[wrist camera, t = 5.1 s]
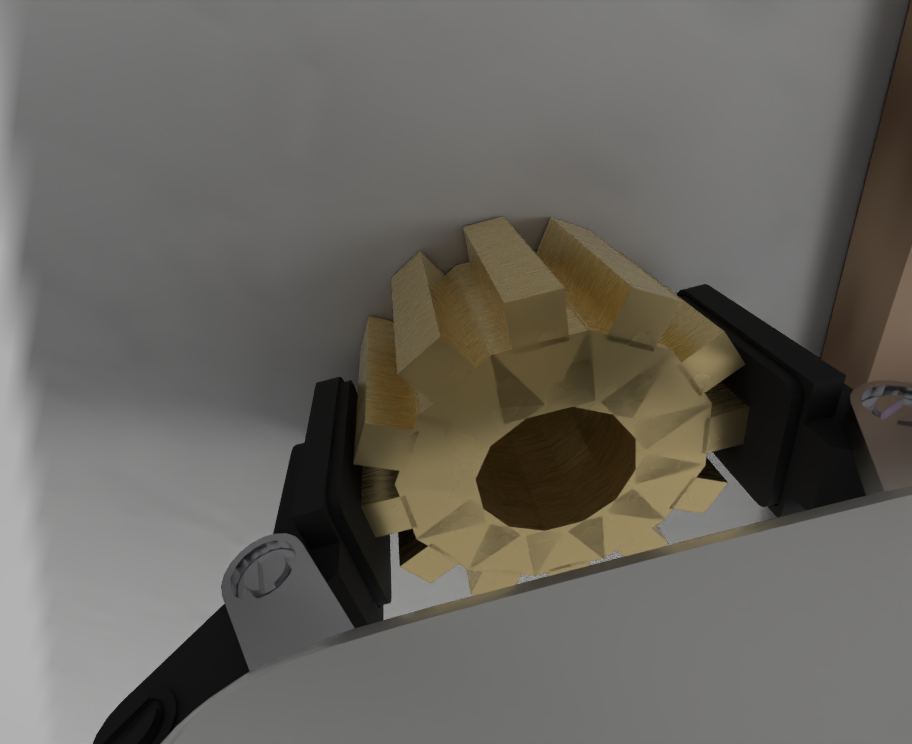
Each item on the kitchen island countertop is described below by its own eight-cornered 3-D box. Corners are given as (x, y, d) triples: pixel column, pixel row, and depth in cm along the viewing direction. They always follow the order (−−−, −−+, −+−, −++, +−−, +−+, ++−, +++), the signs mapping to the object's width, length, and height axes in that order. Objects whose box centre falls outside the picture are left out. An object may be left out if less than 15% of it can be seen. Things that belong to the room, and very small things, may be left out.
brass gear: (650, 178, 10) (783, 231, 7) (646, 435, 14) (729, 547, 11) (314, 263, 10) (284, 358, 7) (405, 496, 14) (414, 628, 11)
